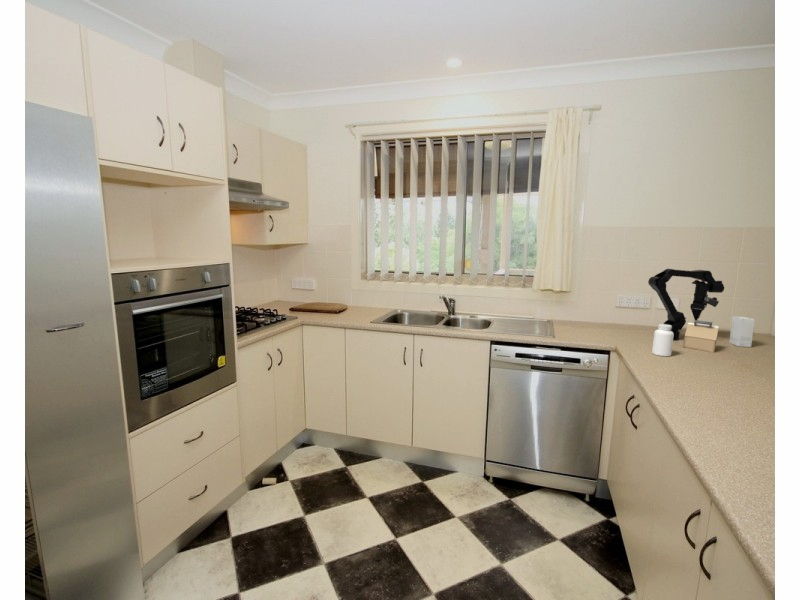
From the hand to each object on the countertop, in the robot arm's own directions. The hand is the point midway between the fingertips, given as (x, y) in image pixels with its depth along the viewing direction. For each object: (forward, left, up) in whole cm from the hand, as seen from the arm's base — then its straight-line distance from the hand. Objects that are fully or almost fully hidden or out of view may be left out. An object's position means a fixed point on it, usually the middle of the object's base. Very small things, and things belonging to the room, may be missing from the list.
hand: (696, 319), depth 222 cm
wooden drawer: (+4, -20, -12) cm, 23 cm away
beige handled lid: (+4, -21, -3) cm, 21 cm away
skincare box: (+20, +4, -12) cm, 24 cm away
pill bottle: (-9, -50, -12) cm, 52 cm away
